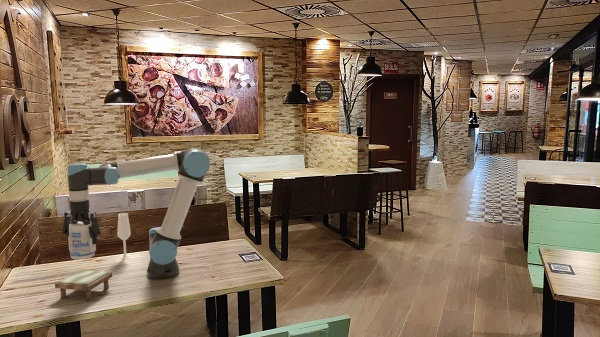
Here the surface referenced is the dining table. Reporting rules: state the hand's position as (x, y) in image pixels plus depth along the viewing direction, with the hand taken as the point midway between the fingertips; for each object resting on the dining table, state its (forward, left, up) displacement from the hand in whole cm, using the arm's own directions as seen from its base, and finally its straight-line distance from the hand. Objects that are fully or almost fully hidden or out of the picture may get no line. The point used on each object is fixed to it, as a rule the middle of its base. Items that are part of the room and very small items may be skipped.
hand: (82, 250), depth 188 cm
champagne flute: (+10, -46, -19) cm, 51 cm away
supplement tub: (0, 0, -3) cm, 3 cm away
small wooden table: (0, 0, -19) cm, 19 cm away
